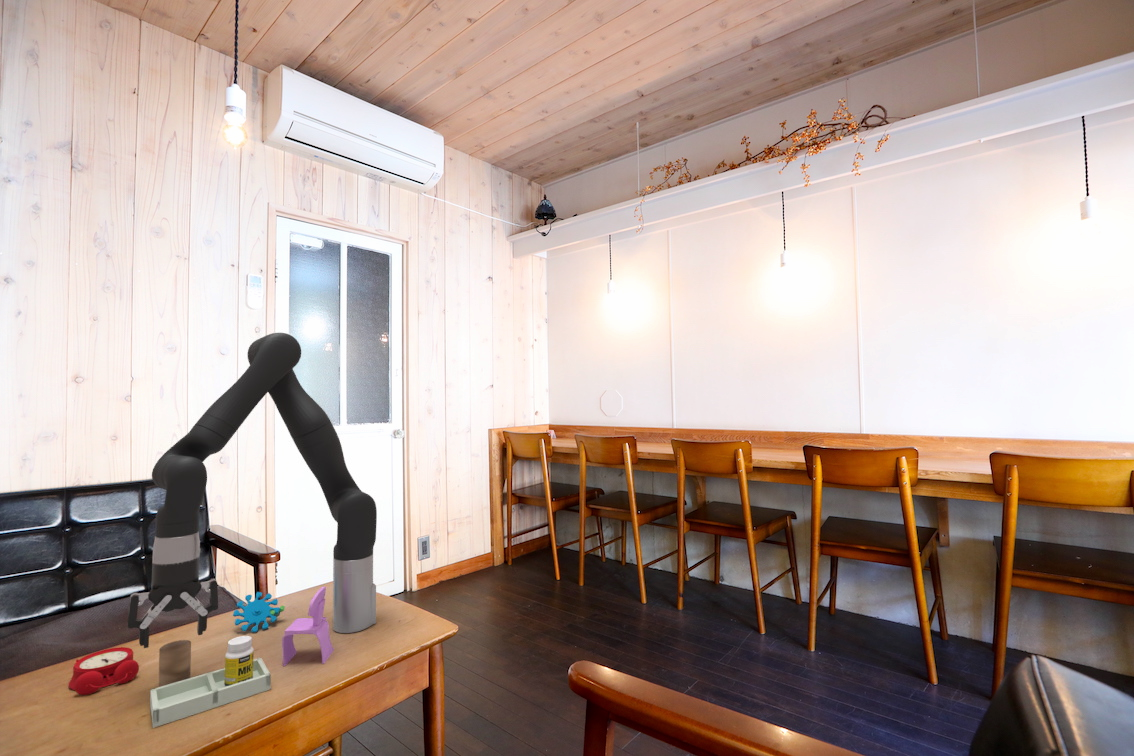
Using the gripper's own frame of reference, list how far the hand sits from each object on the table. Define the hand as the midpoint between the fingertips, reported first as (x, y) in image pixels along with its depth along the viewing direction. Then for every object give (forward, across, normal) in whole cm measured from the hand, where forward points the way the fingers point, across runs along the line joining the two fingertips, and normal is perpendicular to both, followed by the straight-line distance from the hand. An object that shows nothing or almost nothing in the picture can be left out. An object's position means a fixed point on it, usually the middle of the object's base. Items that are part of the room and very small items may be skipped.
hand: (173, 640), depth 104 cm
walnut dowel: (+9, 0, 0) cm, 9 cm away
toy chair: (+9, -24, +5) cm, 26 cm away
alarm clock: (+10, +10, -12) cm, 19 cm away
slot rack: (+9, -6, +9) cm, 14 cm away
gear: (+9, -19, -20) cm, 29 cm away
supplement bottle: (+8, -10, +9) cm, 16 cm away
